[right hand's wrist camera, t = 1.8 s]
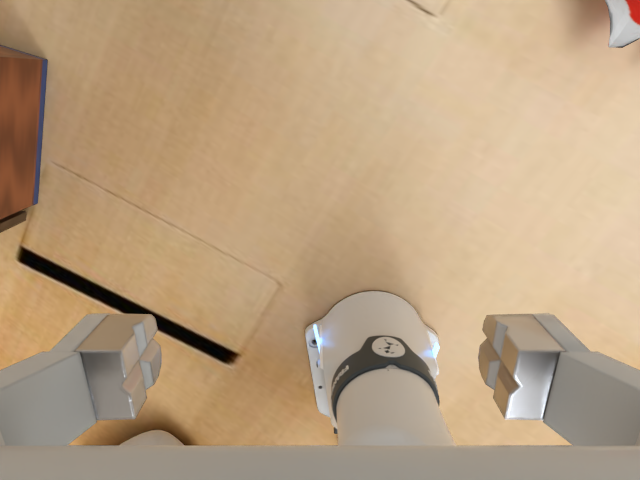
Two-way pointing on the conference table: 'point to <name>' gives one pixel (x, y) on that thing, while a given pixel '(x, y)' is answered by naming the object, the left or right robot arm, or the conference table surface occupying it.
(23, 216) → the drawer
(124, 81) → the conference table surface
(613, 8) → the fish
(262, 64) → the conference table surface
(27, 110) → the cabinet
